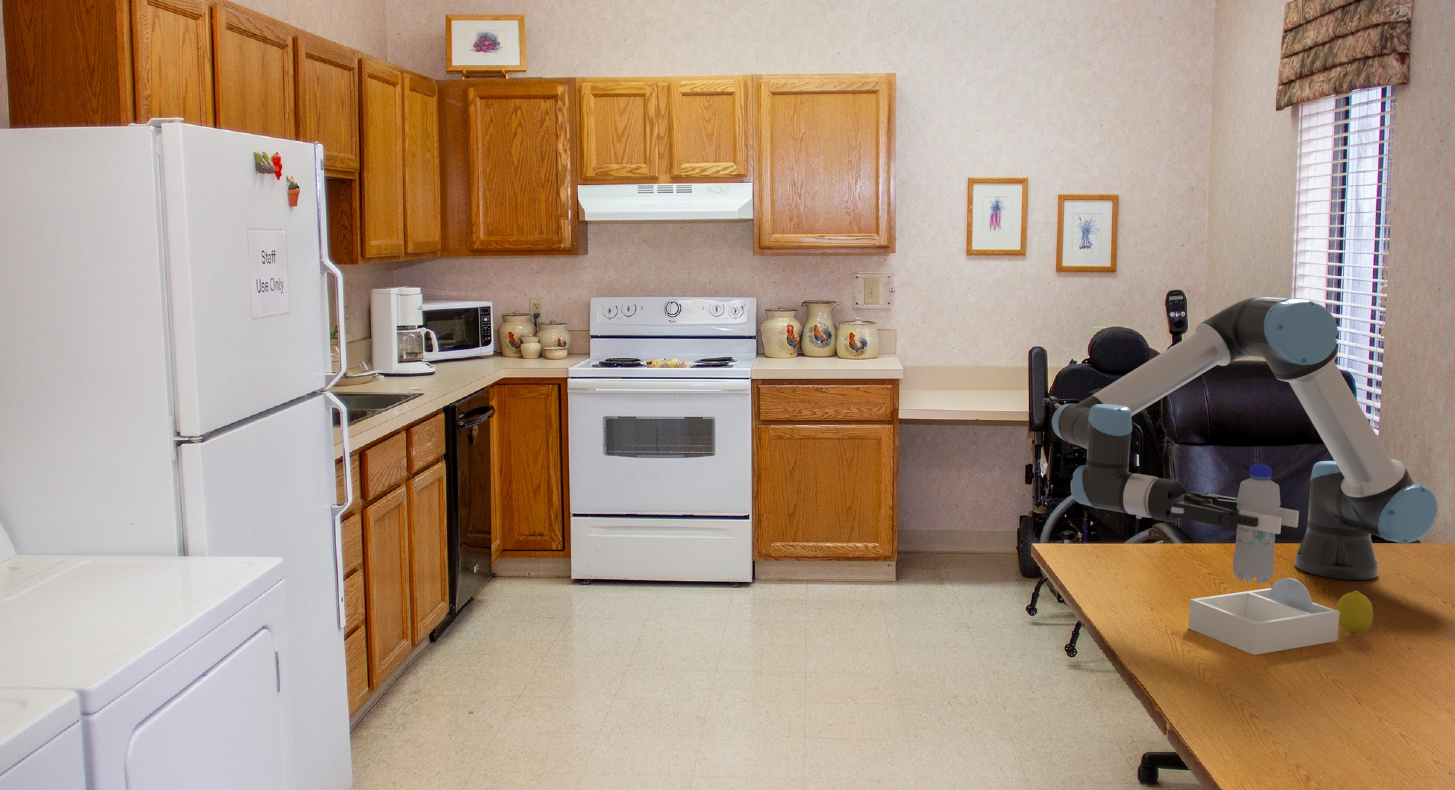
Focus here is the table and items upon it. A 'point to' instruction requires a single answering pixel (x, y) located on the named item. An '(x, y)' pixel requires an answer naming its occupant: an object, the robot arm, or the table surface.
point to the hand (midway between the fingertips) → (1288, 522)
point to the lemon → (1355, 612)
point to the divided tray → (1265, 618)
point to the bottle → (1253, 544)
